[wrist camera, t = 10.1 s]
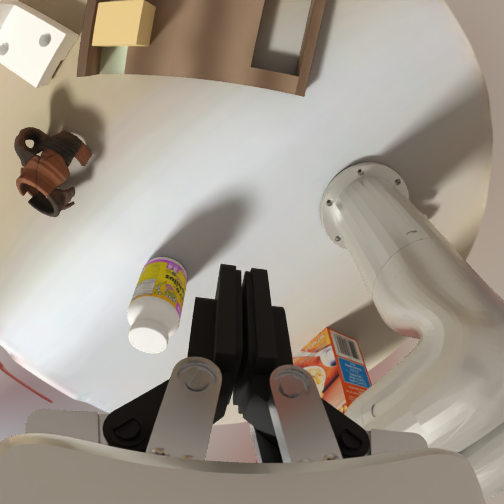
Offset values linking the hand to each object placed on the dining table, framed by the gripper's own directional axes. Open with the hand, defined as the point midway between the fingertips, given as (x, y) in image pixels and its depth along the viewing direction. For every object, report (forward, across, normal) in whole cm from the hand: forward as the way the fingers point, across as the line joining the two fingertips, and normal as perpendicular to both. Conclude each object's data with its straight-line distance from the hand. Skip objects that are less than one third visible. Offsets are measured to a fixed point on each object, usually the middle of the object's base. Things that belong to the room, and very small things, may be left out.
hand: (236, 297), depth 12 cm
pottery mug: (+27, +23, +5) cm, 36 cm away
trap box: (+27, +6, -13) cm, 31 cm away
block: (+24, +13, -11) cm, 30 cm away
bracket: (+27, +28, -11) cm, 41 cm away
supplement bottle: (+27, +7, +21) cm, 35 cm away
